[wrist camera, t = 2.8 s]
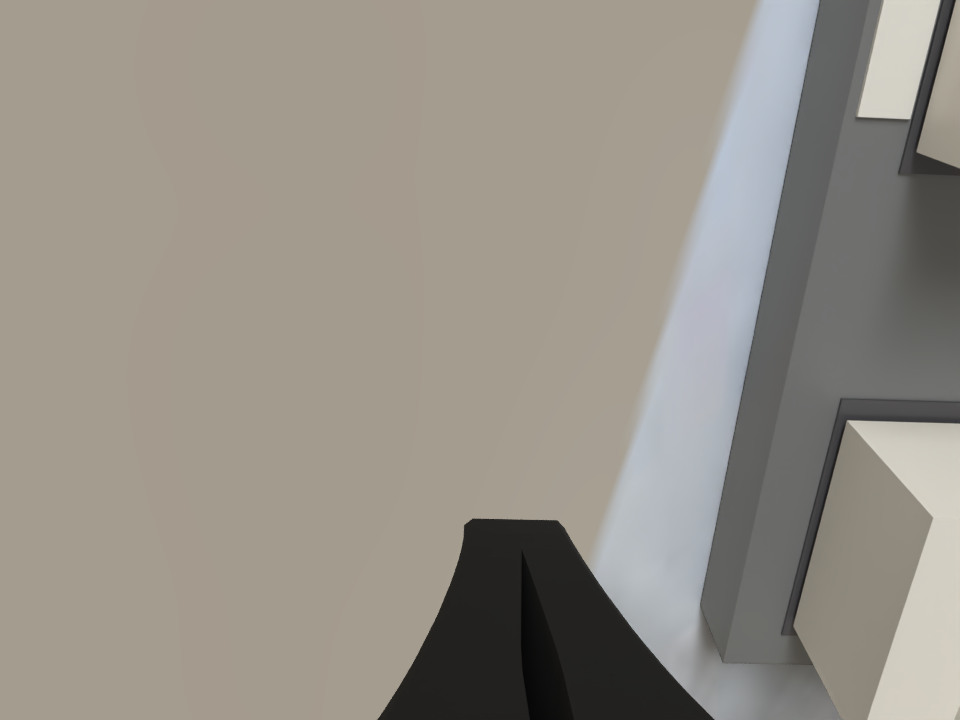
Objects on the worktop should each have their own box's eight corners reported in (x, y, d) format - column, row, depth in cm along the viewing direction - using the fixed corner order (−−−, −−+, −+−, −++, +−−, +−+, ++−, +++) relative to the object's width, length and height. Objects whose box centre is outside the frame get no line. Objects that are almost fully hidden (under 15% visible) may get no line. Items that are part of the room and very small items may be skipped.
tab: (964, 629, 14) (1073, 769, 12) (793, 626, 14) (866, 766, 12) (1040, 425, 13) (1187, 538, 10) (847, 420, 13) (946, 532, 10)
